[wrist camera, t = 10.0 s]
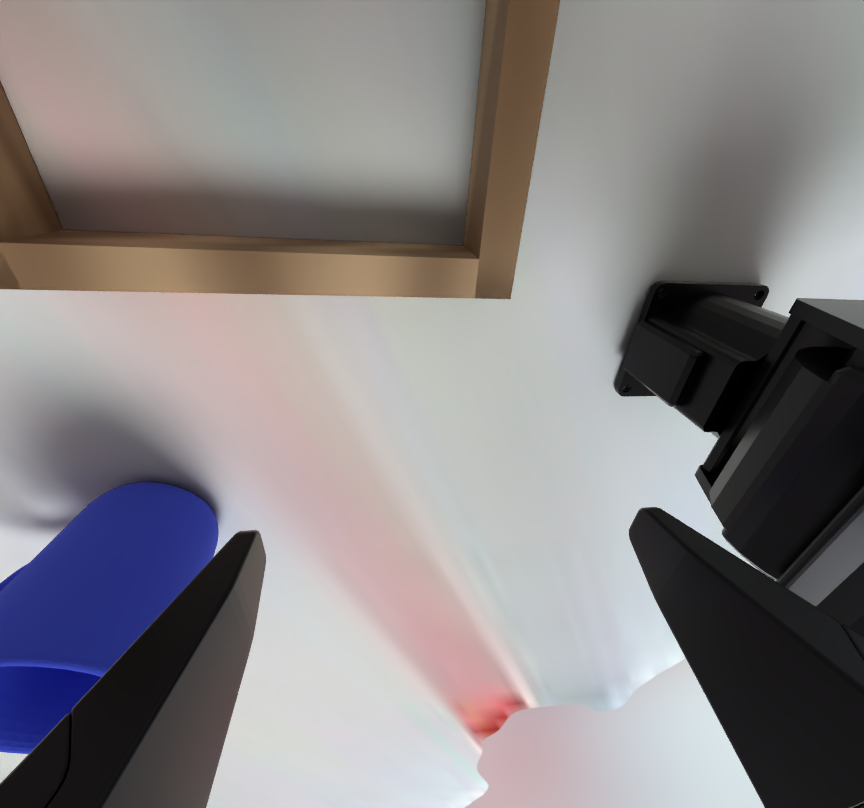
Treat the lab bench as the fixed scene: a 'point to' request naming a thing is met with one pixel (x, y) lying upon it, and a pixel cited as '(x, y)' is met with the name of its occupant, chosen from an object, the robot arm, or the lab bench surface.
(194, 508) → the mug
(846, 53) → the lab bench surface
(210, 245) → the cradle
